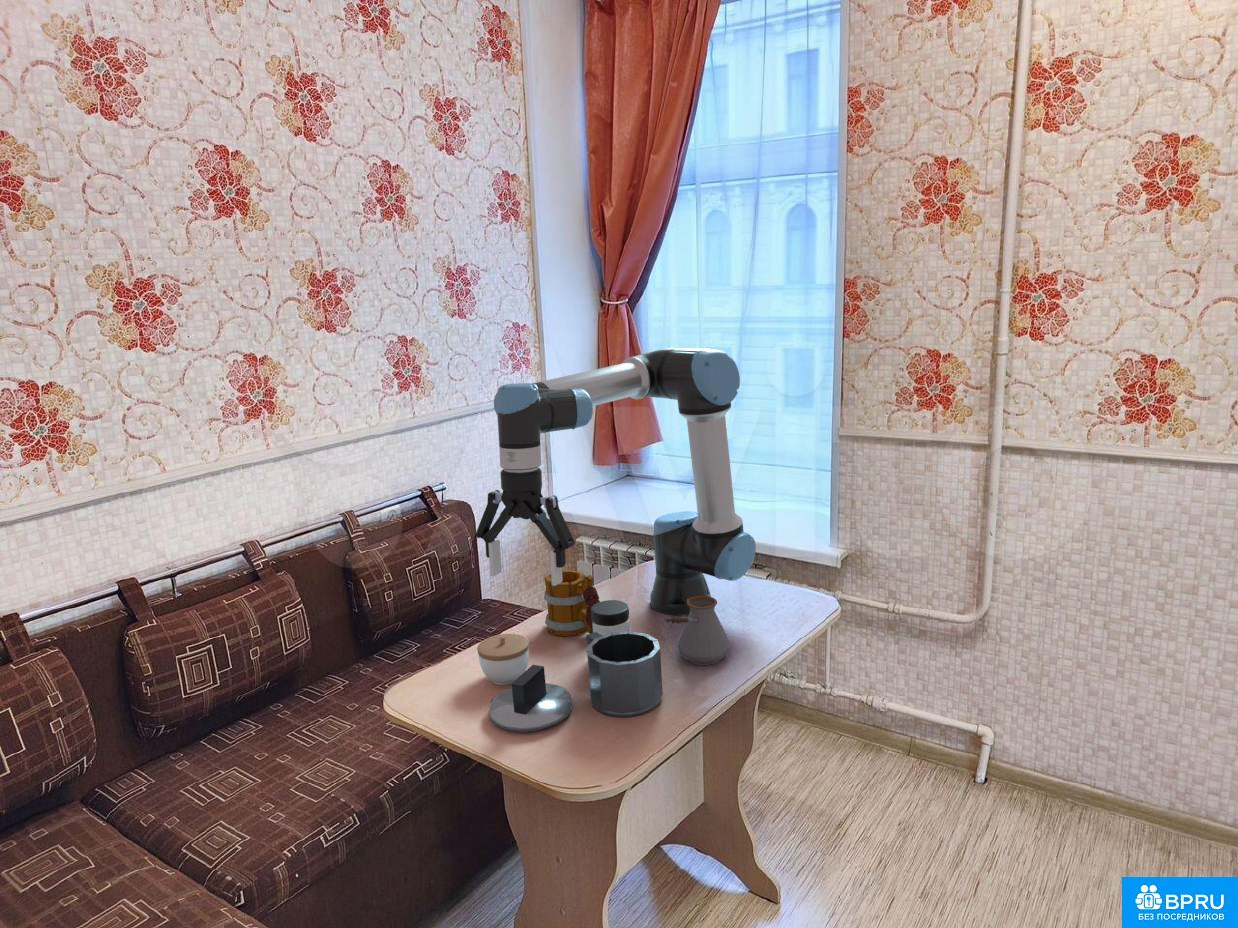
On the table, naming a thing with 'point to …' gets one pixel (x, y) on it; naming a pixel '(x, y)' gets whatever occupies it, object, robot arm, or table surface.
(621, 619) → the jar
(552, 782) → the table surface
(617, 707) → the pot
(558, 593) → the mug
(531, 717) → the lid
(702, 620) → the coffee pot
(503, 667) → the lidded jar
